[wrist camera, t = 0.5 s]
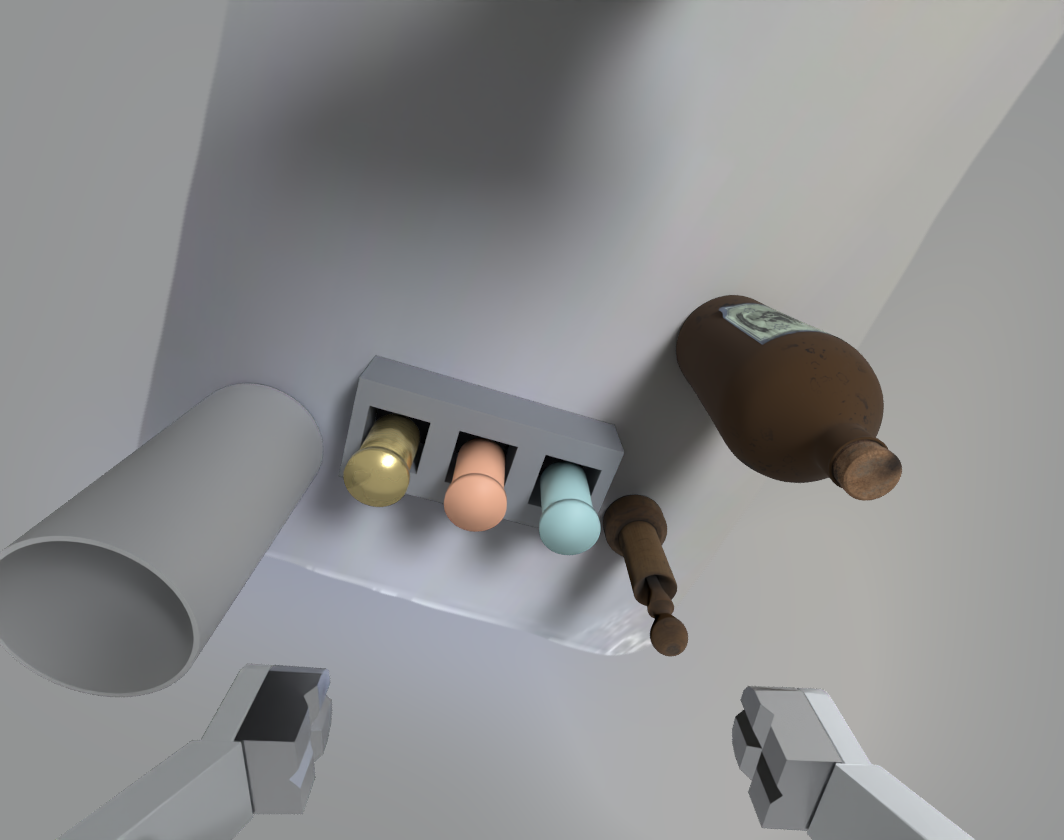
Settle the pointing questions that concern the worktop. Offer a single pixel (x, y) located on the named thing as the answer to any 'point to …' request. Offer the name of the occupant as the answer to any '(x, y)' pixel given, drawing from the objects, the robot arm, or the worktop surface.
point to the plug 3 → (567, 510)
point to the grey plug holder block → (482, 434)
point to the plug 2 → (477, 486)
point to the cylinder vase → (157, 546)
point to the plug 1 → (383, 462)
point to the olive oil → (788, 396)
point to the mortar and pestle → (647, 566)
